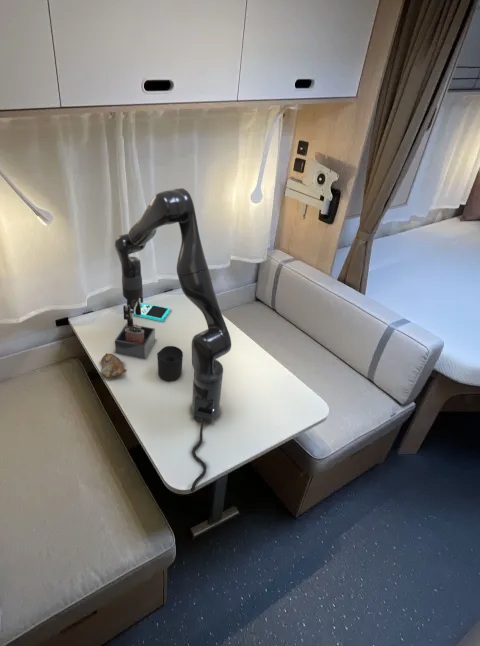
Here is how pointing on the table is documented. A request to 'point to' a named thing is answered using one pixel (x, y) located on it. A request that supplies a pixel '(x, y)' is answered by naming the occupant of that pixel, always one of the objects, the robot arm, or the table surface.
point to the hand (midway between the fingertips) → (134, 320)
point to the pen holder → (170, 363)
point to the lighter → (134, 334)
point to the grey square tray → (134, 348)
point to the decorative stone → (111, 365)
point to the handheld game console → (153, 312)
